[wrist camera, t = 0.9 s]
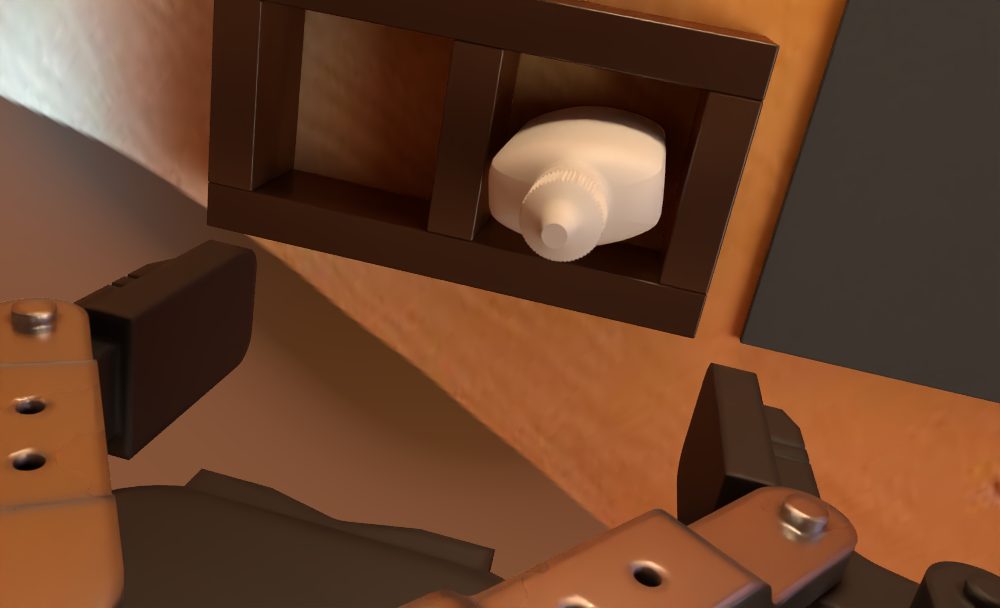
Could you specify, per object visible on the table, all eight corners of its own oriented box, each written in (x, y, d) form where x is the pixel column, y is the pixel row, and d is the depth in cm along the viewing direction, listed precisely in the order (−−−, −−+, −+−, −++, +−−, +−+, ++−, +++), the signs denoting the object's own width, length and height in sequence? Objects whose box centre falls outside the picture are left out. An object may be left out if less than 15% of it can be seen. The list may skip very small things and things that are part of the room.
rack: (266, -60, 33) (215, -64, 29) (767, 36, 30) (780, 45, 27) (252, 200, 37) (206, 225, 33) (692, 300, 35) (694, 339, 31)
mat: (861, -47, 29) (863, -47, 29) (1230, 20, 28) (1238, 20, 27) (739, 339, 35) (740, 343, 34) (1039, 408, 34) (1043, 413, 33)
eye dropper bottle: (624, 230, 34) (601, 352, 23) (505, 158, 34) (426, 247, 23) (685, 138, 32) (692, 223, 21) (560, 62, 32) (503, 108, 21)
